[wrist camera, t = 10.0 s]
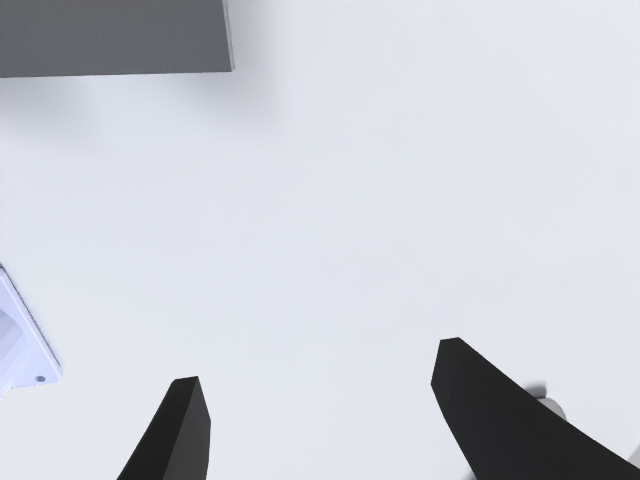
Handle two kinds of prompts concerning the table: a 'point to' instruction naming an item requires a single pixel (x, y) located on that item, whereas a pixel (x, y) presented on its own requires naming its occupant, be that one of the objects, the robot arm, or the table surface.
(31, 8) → the square hole plate
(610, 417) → the table surface
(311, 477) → the table surface
